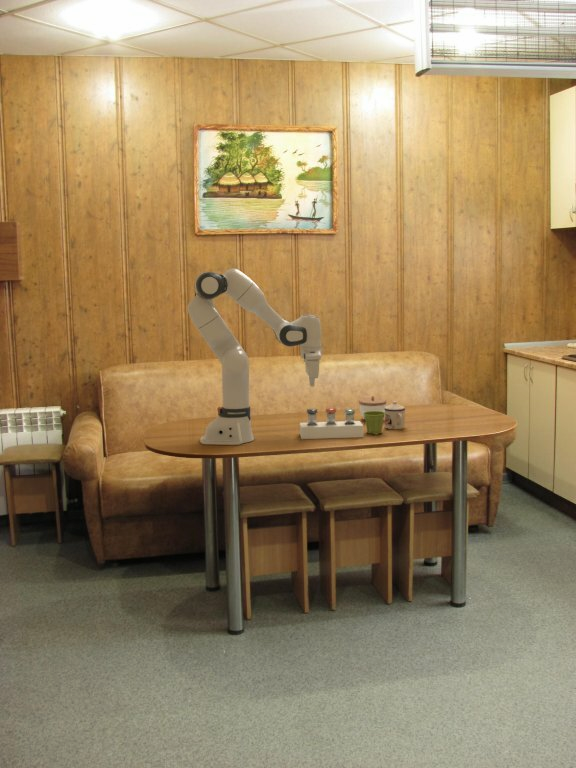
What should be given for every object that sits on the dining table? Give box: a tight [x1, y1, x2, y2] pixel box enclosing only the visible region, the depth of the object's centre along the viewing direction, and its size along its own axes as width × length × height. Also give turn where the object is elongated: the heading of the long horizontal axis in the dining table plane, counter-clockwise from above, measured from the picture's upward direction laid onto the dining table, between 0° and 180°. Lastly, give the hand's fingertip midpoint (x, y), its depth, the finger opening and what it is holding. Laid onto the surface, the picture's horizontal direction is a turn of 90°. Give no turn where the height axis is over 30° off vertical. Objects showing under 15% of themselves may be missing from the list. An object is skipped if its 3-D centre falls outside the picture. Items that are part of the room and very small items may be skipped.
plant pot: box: [363, 411, 385, 435], centre depth 346 cm, size 9×9×9 cm
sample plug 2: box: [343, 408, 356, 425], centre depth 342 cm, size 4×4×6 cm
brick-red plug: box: [325, 407, 337, 424], centre depth 341 cm, size 4×4×6 cm
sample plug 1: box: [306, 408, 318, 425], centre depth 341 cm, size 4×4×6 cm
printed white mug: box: [384, 401, 406, 430], centre depth 354 cm, size 12×9×12 cm
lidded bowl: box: [358, 395, 387, 420], centre depth 374 cm, size 13×13×11 cm
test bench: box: [299, 420, 364, 440], centre depth 342 cm, size 26×10×5 cm, turn 93°
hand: (312, 386), depth 339 cm, fingers closed
